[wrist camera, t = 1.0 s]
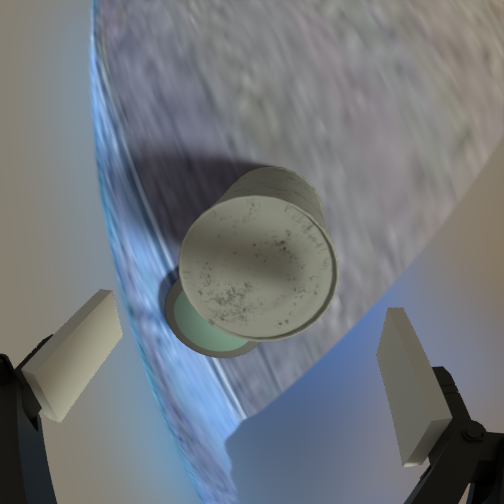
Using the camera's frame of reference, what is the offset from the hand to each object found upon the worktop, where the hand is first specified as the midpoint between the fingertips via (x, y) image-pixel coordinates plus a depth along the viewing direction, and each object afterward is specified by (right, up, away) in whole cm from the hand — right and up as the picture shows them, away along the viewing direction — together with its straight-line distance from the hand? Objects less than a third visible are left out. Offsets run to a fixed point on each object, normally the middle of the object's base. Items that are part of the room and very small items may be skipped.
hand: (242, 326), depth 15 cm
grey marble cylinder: (+2, +7, +16) cm, 17 cm away
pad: (-3, -3, +20) cm, 21 cm away
